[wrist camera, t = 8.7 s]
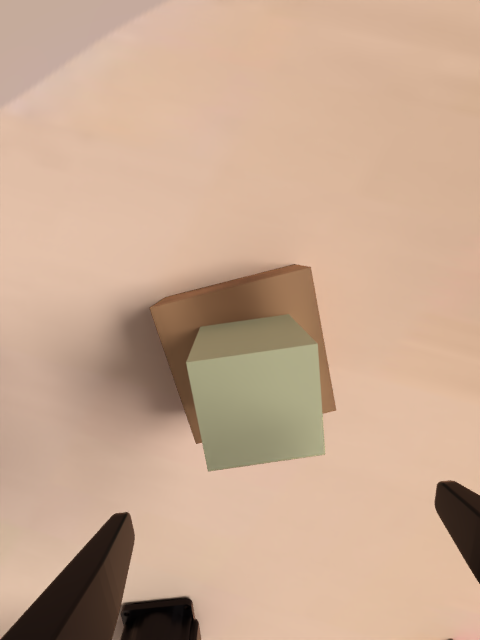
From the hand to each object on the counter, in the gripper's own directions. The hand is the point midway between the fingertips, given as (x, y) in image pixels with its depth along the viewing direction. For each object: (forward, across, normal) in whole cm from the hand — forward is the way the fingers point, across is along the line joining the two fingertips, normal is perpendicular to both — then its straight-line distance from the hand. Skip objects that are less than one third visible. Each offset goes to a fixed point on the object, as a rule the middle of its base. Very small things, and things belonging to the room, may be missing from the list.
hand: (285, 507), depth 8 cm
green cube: (+8, 0, -1) cm, 8 cm away
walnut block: (+12, 0, -1) cm, 12 cm away
